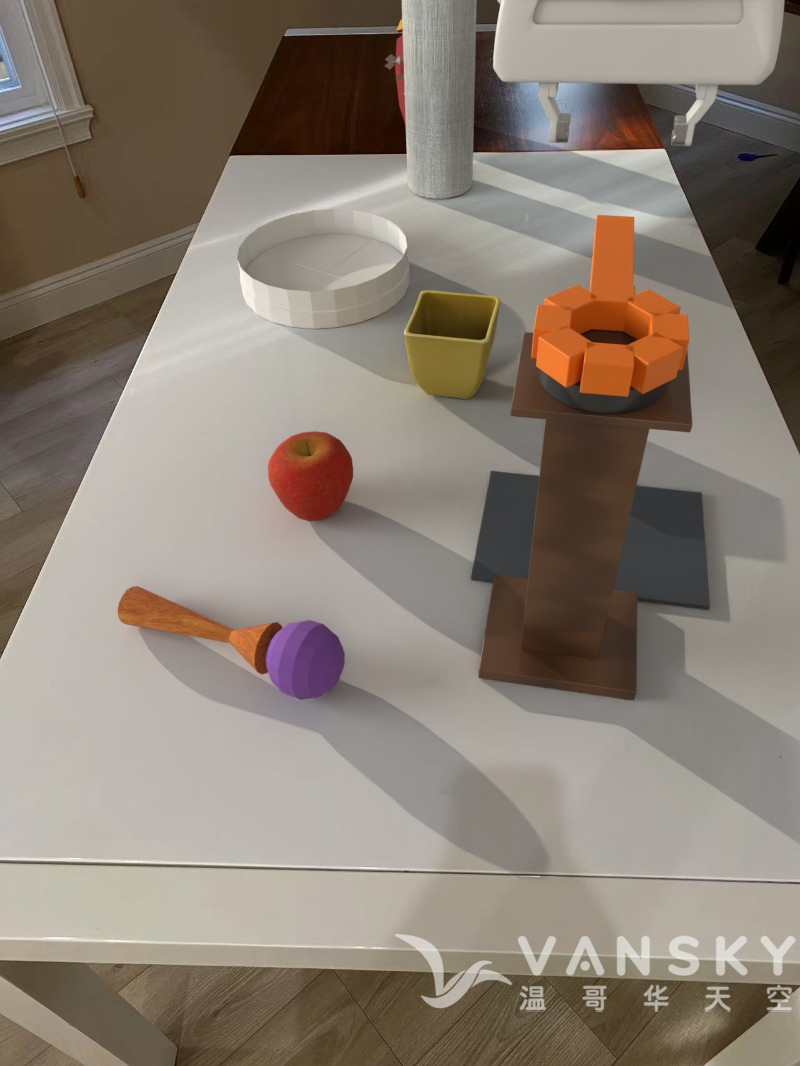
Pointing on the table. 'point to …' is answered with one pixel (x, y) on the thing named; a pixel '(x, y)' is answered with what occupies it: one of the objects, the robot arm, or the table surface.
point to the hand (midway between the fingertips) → (619, 142)
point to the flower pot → (451, 341)
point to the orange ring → (610, 324)
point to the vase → (439, 95)
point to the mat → (648, 551)
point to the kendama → (251, 642)
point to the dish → (324, 268)
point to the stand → (578, 534)
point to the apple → (311, 474)
